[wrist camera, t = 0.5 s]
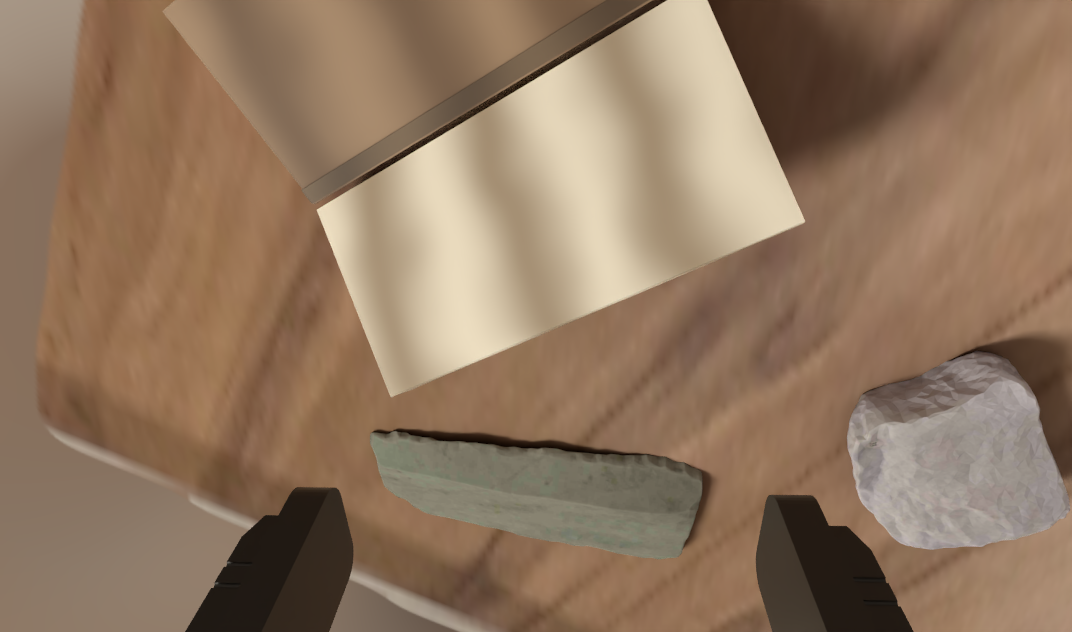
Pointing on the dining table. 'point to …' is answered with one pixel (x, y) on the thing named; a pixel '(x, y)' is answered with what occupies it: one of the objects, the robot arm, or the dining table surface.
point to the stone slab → (547, 492)
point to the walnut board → (374, 68)
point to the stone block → (956, 456)
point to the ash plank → (561, 199)
